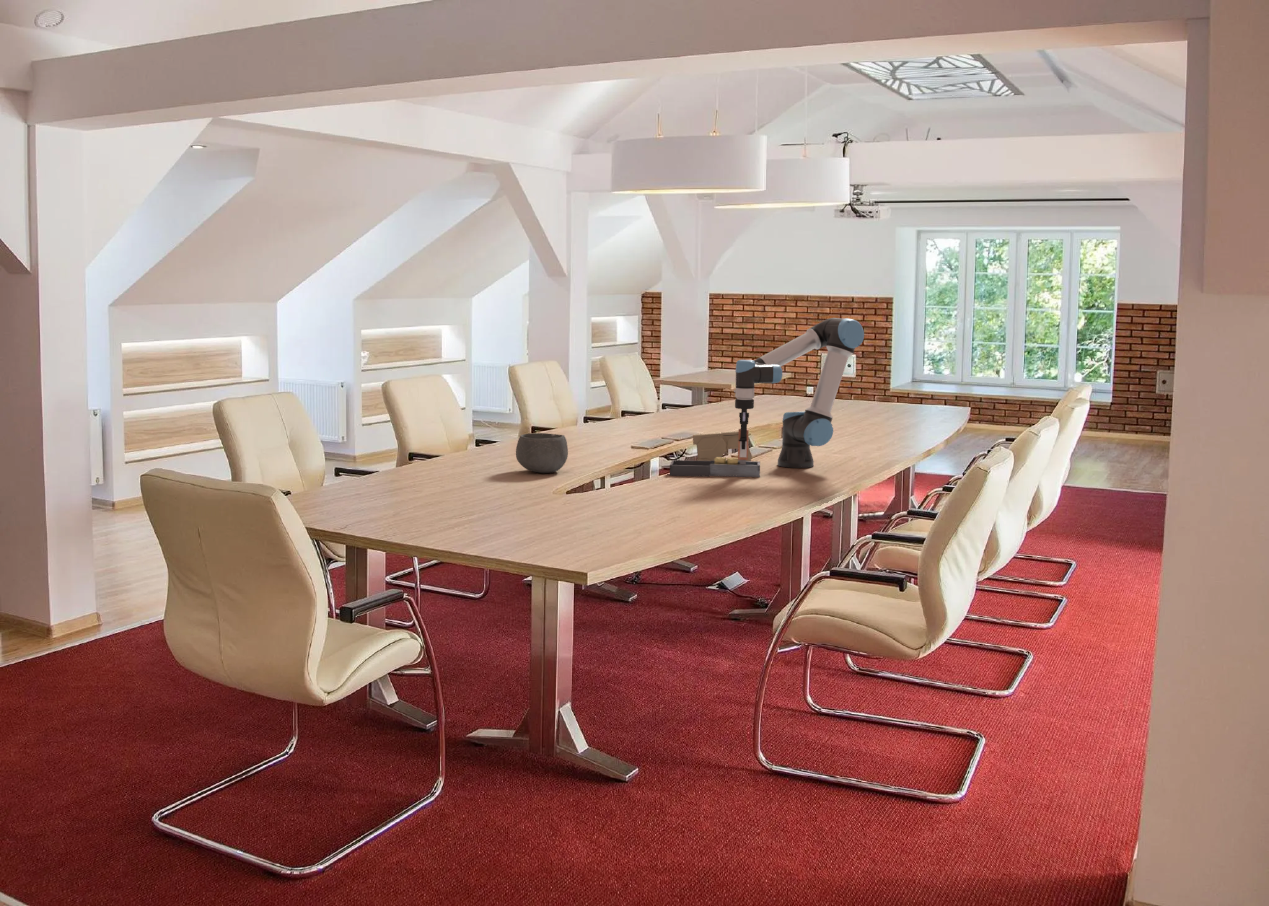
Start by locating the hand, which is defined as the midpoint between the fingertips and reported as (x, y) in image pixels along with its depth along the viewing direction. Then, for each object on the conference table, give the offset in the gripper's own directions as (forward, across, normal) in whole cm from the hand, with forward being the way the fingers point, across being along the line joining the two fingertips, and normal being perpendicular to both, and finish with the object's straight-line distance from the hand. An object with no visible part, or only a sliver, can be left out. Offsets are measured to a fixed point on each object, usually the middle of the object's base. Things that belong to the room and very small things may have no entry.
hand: (743, 456), depth 491 cm
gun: (+8, -23, -9) cm, 26 cm away
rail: (+8, 0, -3) cm, 8 cm away
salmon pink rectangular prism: (+5, 0, 0) cm, 5 cm away
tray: (+8, 0, -21) cm, 22 cm away
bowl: (+8, +5, -81) cm, 82 cm away
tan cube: (+5, 0, -4) cm, 7 cm away
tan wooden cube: (+5, -1, -9) cm, 10 cm away
